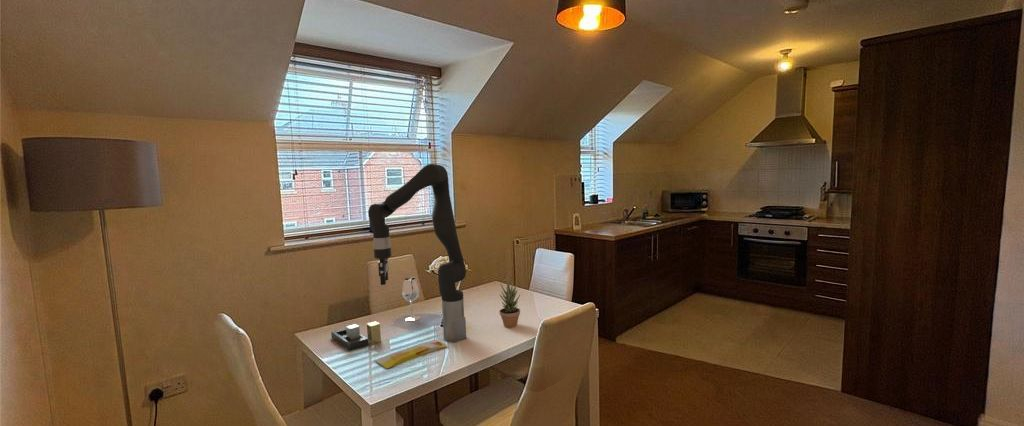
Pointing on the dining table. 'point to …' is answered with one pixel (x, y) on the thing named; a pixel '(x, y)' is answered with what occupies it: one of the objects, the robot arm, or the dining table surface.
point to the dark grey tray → (352, 345)
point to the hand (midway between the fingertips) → (384, 282)
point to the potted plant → (509, 306)
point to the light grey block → (353, 332)
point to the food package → (410, 353)
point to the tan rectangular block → (373, 332)
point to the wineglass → (410, 295)
